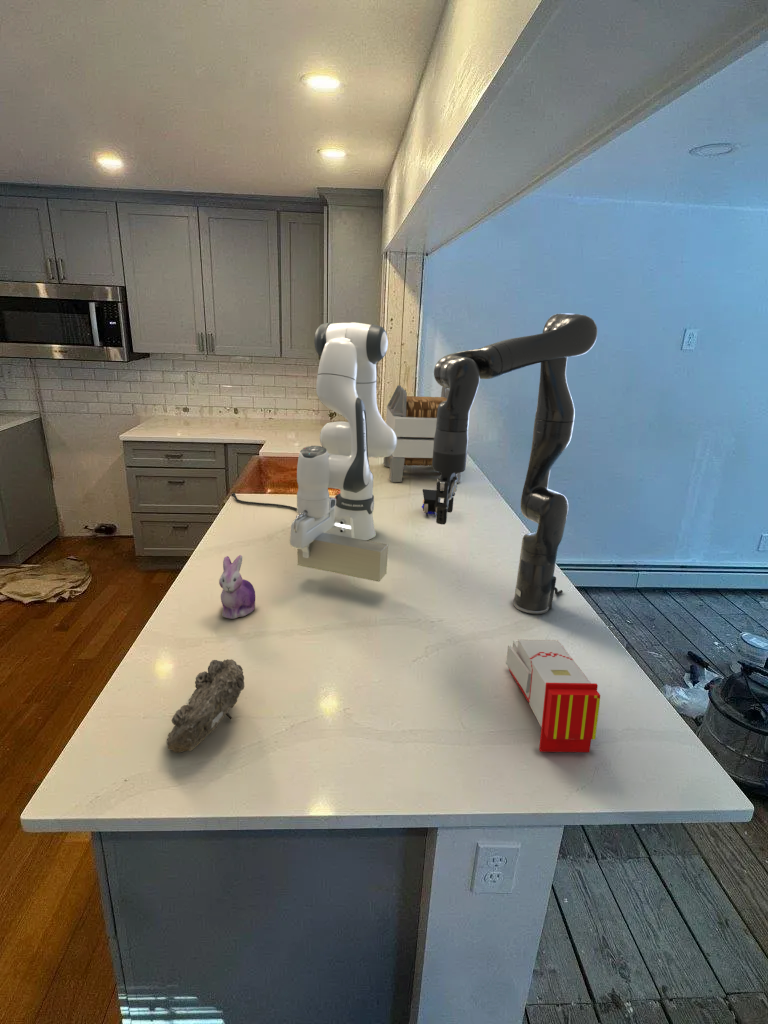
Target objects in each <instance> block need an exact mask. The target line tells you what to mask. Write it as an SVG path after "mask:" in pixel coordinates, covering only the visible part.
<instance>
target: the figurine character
mask: <svg viewBox="0 0 768 1024" xmlns="http://www.w3.org/2000/svg"><path fill="white" fill-rule="evenodd" d="M421 491H422V496H423V499H422V506H421V508H422V511H423V513H425V515H426V517H429V515H432V517H434V518H435V517H437V508H436V507H435V500H436V489H426V488H422V490H421Z"/></svg>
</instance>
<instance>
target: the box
mask: <svg viewBox="0 0 768 1024" xmlns="http://www.w3.org/2000/svg"><path fill="white" fill-rule="evenodd" d="M308 548H309V551H311V556H310V557H308V558H304V557H303V551H302V549H297V548H296V549H297V551H296V552H297V554H296V555H297V566H300V567H305V568H308V569H314V570H320V571H324V572H327V573H329V572H330V573H335V574H339V575H343V576H348V577H353V578H354V577H355V578H358V579H364V580H367V581H373V582H378V583H380V582H381V581H382V579H383V578H384V577H385V576H386V575H387V573H388V556H389V555H388V554H389V550H388V549H389V544H388V543H383V542H377V541H371V540H361V539H355V538H350V537H344V536H339V535H333V534H327V533H322V534H321V535H319V536H318V537H317V538H315V539H314V541H313V542H311V543H310V544H309V547H308Z"/></svg>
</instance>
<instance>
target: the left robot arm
mask: <svg viewBox="0 0 768 1024" xmlns="http://www.w3.org/2000/svg"><path fill="white" fill-rule="evenodd" d="M313 341H314V342H313V343H314V349H315V351H316V353H317V355H318V356H319V357H320V359H319V364H318V369H317V375H316V383H315V384H316V385H315V393H316V396H317V398H318V400H319V402H320V403H321V404H322V405H323V406H324V407H326V409H328V410H330V411H332V412H334V413H336V414H337V415H340V416H341V417H343V418H344V419H345V420H346V421H341V420H339V421H331V422H327V423H325V424H324V425H323V427H321V430H320V432H319V443H320V445H308V446H305V447H303V448H302V449H300V450H299V454H298V458H297V465H296V482H297V492H296V507H295V506H290V505H286V504H278V503H269V502H257V501H248V500H247V501H246V500H241V499H239V498H238V497H237V495H236V493H235V492H232V493H230V496H231V497H233V499H234V500H235V501H236V502H237V503H241V504H246V505H255V506H268V507H269V506H270V507H279V508H286V509H290V510H293V511H296V513H297V514H296V516H295V519H294V520H292V522H291V526H290V535H289V545H290V547H291V548H293V549H302V551H303V557H304V558H308V557H310V556H311V551H309V548H308V547H309V544H310V543H311V542H313V541H314V539H315V538H317V537H318V536H319V535H321V534H322V533H327V534H333V535H339V536H344V537H350V538H355V539H361V540H366V541H370V540H372V539H373V538H375V537H376V535H377V532H376V528H375V523H374V513H373V512H374V509H375V496H374V474H373V472H372V471H371V469H370V461H369V458H372V459H379V458H384V457H389V456H390V455H391V454H392V453H393V452H394V451H395V448H396V445H397V437H396V434H395V432H394V431H393V429H392V428H391V427H389V426H388V425H387V423H386V420H384V419H383V417H382V415H381V413H380V410H379V408H378V399H377V363H378V362H380V361H382V360H383V359H384V358H385V356H386V354H387V351H388V347H389V338H388V334H387V330H385V328H384V327H383V326H381V325H378V324H374V323H372V324H368V323H364V322H363V323H362V322H354V321H350V322H323V323H321V324H320V325H319V326H318V327H317V328H316V330H315V333H314V340H313ZM329 489H335V490H339V491H338V492H337V494H336V495H335V496H334V497H330V492H329Z"/></svg>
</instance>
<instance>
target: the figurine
mask: <svg viewBox="0 0 768 1024" xmlns="http://www.w3.org/2000/svg"><path fill="white" fill-rule="evenodd" d="M222 560H223V561H222V571H223V572H222V573H221V575H220V578H219V579H218V585H219V587H220V588H221V589H222V591H221V593H220V602H221V605H222V614H221V615H222V617H223V618H226V619H237V618H241V617H245V616H247V615H249V614H251V613H253V612H254V611H255V607H256V590H255V588H254V586H253V585H254V584H252V583H251V582H250V581H249V580H247V579H243V577H242V575H241V573H240V570H241V568H242V564H243V555H241V554H239V555H237V557H236V558H234V560H233V562H232V561H231V558H230V556H228V555H226V556H224V557H223V559H222Z"/></svg>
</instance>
